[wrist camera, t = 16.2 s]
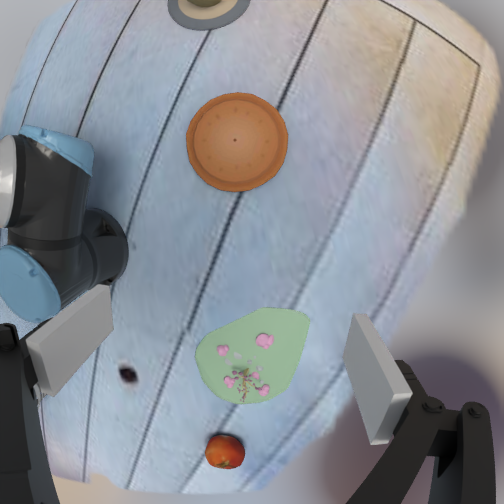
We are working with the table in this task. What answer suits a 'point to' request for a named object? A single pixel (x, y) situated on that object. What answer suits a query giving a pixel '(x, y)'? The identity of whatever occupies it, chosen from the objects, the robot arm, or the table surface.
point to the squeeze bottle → (204, 2)
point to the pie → (237, 142)
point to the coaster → (206, 13)
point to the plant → (253, 355)
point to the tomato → (224, 452)
